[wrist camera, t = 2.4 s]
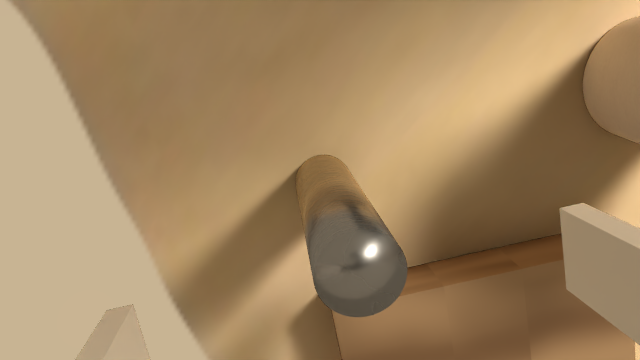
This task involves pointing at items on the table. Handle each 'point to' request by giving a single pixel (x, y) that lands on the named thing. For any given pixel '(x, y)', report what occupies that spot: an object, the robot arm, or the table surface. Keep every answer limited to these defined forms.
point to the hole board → (486, 313)
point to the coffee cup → (615, 81)
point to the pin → (347, 241)
